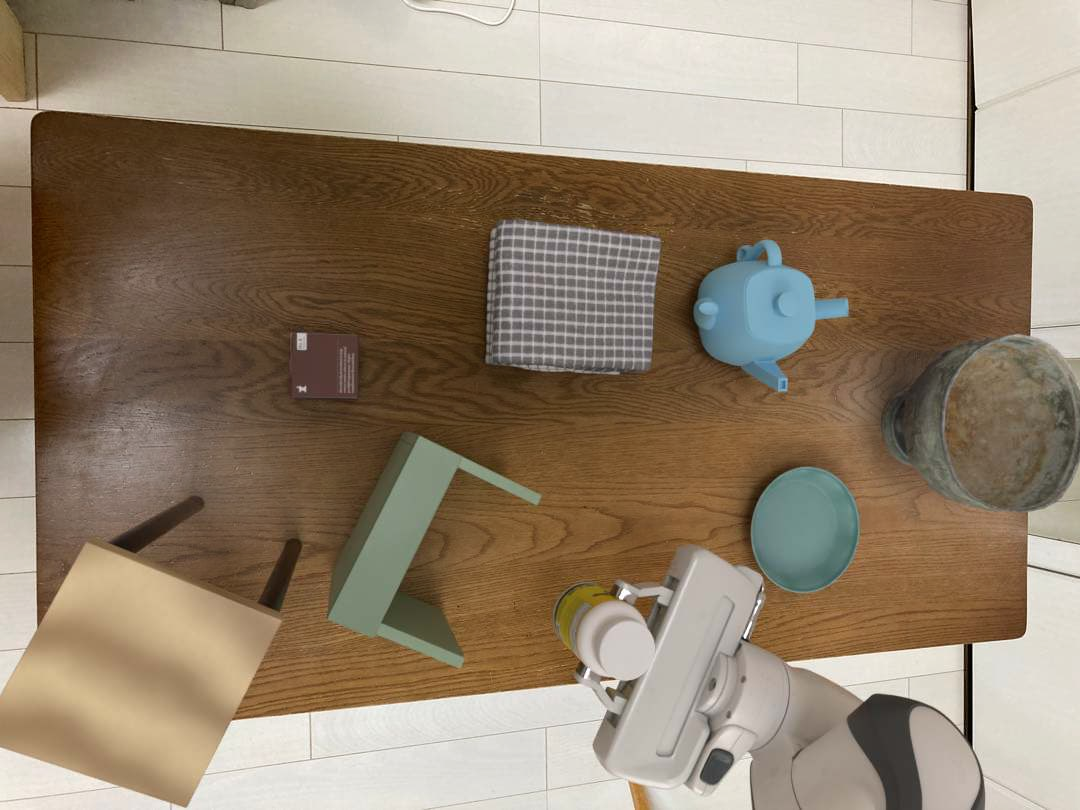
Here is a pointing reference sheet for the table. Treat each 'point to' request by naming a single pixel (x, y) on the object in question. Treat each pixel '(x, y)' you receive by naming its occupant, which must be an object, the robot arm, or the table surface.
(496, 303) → the towel
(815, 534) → the saucer
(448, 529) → the table surface
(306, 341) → the box
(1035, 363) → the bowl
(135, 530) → the stand legs
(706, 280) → the teapot
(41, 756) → the stand
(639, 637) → the pill bottle
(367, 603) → the cubby
